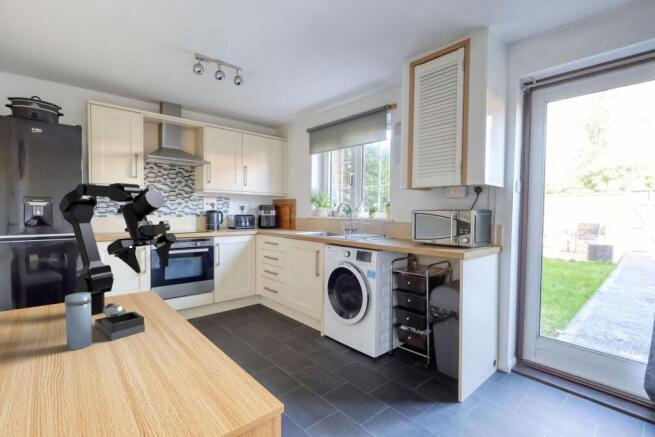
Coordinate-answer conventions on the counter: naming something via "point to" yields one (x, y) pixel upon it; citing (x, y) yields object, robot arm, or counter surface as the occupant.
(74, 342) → the dome-capped cylinder
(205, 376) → the counter surface
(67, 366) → the counter surface
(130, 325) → the dark grey open box
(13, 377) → the counter surface
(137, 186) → the robot arm
